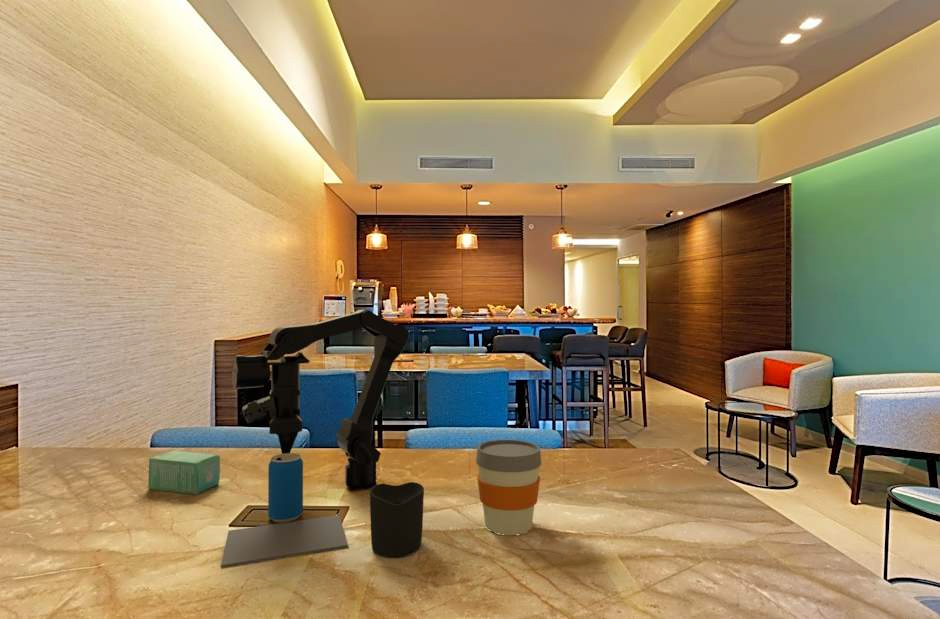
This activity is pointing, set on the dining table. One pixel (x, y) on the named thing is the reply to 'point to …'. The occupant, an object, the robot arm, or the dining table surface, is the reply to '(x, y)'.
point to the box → (184, 472)
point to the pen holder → (396, 519)
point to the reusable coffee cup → (508, 484)
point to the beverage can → (285, 487)
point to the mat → (283, 540)
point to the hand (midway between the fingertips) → (285, 457)
